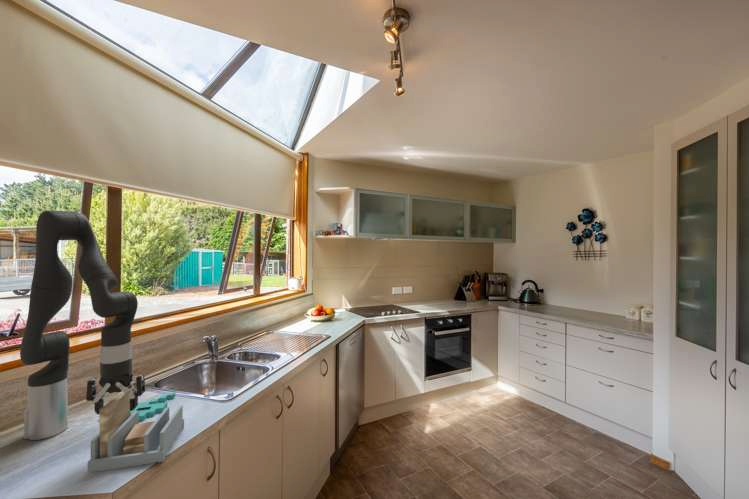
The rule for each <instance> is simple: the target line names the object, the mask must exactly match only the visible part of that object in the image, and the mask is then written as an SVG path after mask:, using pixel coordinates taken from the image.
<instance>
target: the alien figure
mask: <svg viewBox="0 0 749 499" xmlns="http://www.w3.org/2000/svg"><path fill="white" fill-rule="evenodd" d="M175 398H176V391H173V392H168V393H167V394H166V395H160V396H159V398H152V399H151V400H150V401H146V402H138V405H137V407H136V408H135V409H134V410H133V411H131V415H132V414H133V413H134V412H135V411H139V422H144V421H145V420H146V419H147V418H152V417H155V416H156V415H157V414H161V413H162V412H163V411H164V409H165V408H166V407H168V402H167V401H168V400H174V399H175ZM98 419H99V418H98ZM98 421H100V419H99V420H98Z"/></svg>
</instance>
